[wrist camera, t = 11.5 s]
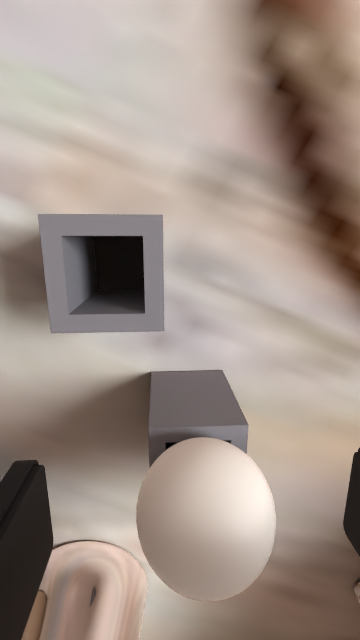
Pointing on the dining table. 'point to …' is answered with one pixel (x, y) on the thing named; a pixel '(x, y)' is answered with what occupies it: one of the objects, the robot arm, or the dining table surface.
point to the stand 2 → (193, 410)
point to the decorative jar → (357, 591)
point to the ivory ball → (206, 519)
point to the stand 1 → (81, 280)
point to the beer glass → (89, 595)
